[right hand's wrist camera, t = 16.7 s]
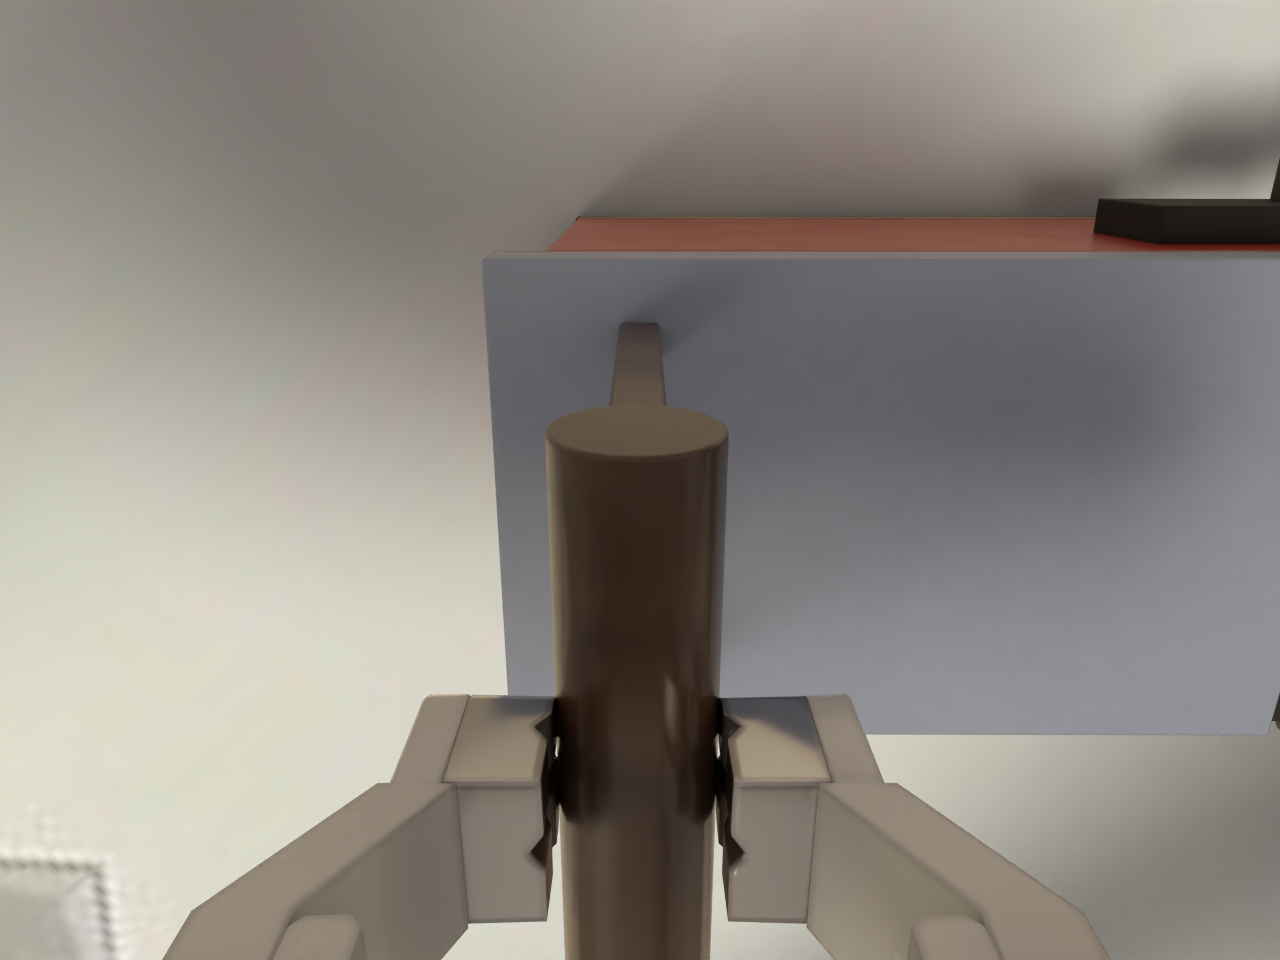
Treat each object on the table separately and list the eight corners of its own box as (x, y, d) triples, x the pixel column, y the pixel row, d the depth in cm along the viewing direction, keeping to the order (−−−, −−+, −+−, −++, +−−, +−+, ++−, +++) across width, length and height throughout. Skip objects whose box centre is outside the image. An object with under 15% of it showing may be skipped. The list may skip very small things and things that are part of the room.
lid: (517, 701, 20) (424, 1110, 11) (492, 251, 16) (334, 358, 8) (1232, 702, 20) (1671, 1113, 11) (1355, 251, 16) (2112, 359, 8)
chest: (585, 537, 28) (559, 699, 20) (578, 216, 25) (543, 250, 17) (1058, 538, 28) (1231, 701, 20) (1116, 216, 25) (1353, 250, 16)
